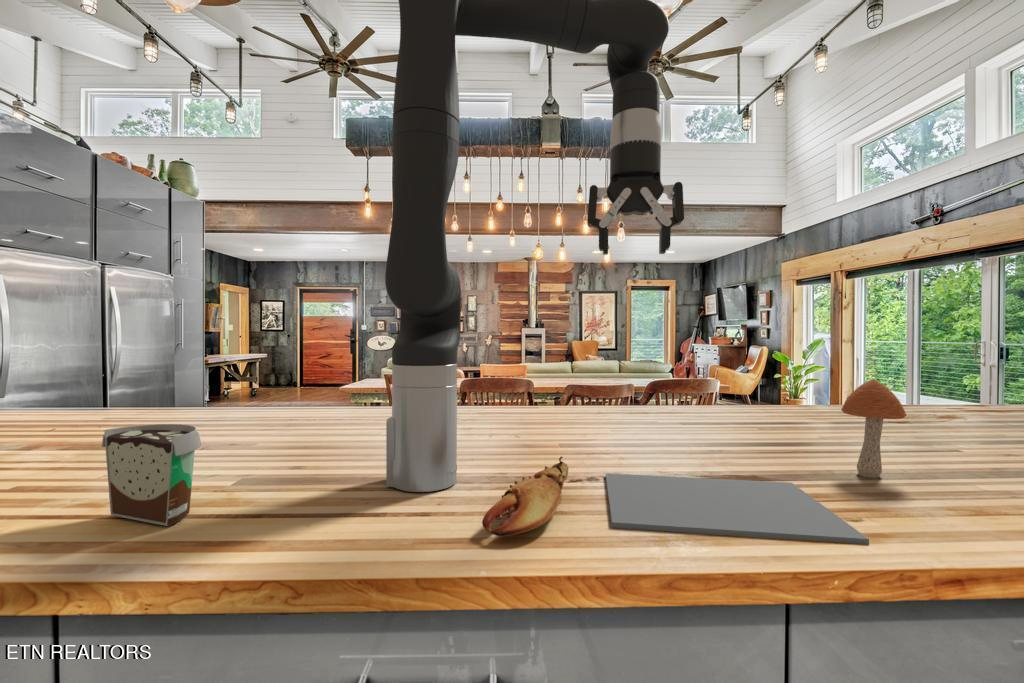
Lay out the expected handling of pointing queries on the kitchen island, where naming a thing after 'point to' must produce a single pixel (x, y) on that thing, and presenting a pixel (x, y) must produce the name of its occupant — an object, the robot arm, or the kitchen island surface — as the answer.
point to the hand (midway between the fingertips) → (633, 253)
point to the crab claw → (528, 502)
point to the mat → (723, 508)
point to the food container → (151, 471)
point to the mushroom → (872, 421)
